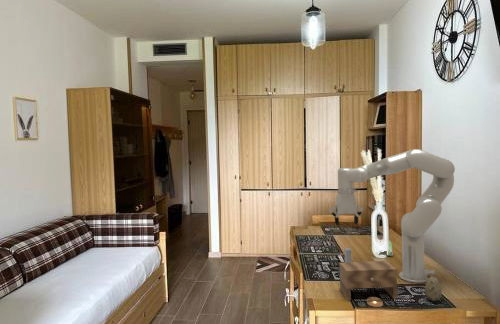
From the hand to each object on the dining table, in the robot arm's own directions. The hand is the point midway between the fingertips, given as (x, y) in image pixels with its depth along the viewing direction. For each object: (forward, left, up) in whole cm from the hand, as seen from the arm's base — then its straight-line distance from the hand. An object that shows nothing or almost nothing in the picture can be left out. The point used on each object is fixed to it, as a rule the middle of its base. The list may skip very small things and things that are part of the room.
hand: (346, 224), depth 164 cm
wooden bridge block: (0, +27, -24) cm, 36 cm away
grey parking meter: (0, +9, -24) cm, 26 cm away
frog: (-30, -23, -25) cm, 45 cm away
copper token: (0, +35, -25) cm, 43 cm away
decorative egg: (-24, +35, -24) cm, 49 cm away
